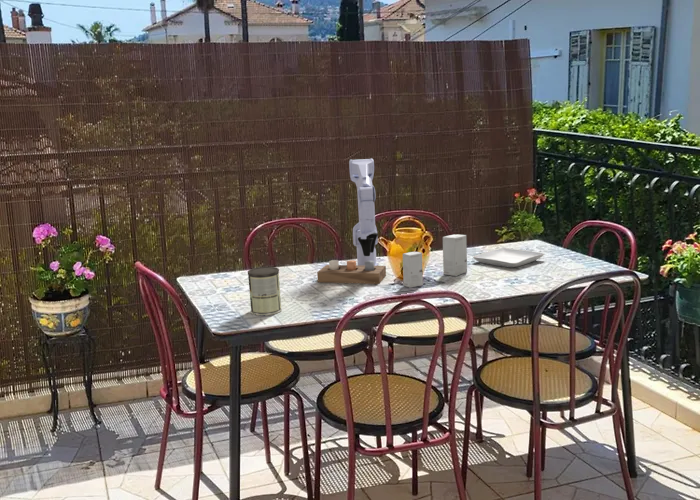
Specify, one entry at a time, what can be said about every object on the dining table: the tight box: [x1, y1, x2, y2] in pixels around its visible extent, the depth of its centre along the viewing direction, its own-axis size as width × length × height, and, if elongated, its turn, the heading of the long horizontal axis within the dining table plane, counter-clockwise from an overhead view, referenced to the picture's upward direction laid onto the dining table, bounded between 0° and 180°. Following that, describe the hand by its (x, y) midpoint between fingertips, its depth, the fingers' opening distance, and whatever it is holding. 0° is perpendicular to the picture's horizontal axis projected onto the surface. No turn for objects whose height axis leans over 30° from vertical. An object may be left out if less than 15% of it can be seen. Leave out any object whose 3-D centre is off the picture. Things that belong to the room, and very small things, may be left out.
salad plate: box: [472, 247, 545, 268], centre depth 293 cm, size 21×21×3 cm
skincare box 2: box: [442, 233, 468, 277], centre depth 276 cm, size 8×6×15 cm
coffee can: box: [247, 266, 282, 316], centre depth 239 cm, size 10×10×14 cm
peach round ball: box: [346, 259, 357, 270], centre depth 276 cm, size 4×4×4 cm
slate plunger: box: [364, 261, 374, 271], centre depth 274 cm, size 4×4×4 cm
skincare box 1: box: [402, 251, 424, 289], centre depth 262 cm, size 6×4×12 cm
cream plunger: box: [328, 259, 340, 270], centre depth 278 cm, size 4×4×4 cm
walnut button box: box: [316, 264, 387, 285], centre depth 276 cm, size 12×24×4 cm, turn 75°
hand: (368, 254), depth 273 cm, fingers open, 5 cm apart
